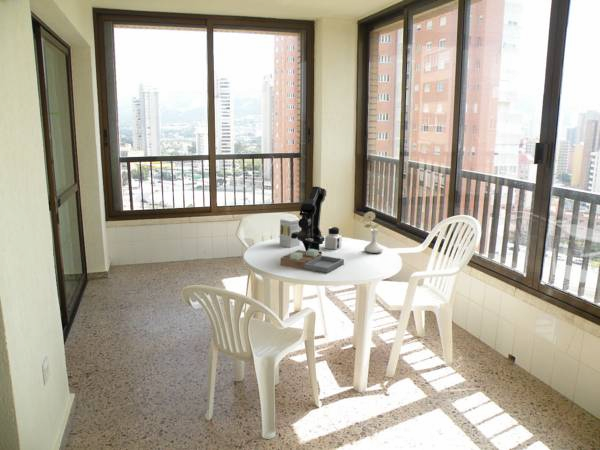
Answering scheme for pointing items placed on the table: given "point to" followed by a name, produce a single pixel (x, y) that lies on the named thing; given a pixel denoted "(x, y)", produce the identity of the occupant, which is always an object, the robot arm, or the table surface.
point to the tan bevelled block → (297, 263)
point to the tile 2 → (312, 252)
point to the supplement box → (289, 232)
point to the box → (324, 264)
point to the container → (333, 239)
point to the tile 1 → (296, 255)
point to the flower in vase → (373, 246)
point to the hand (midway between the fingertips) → (307, 251)
